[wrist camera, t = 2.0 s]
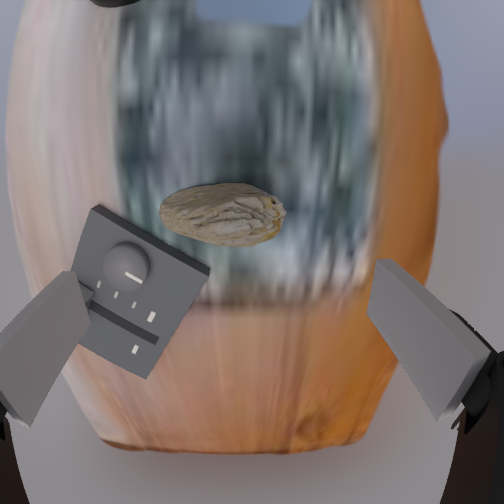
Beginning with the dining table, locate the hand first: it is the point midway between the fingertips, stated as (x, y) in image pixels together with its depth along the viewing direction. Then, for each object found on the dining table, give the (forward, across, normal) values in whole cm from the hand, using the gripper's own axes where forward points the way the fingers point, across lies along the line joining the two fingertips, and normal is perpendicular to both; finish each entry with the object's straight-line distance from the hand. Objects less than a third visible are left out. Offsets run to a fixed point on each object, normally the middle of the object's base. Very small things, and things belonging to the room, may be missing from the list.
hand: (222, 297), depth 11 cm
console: (+25, -17, -15) cm, 34 cm away
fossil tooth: (+25, -1, -2) cm, 25 cm away
